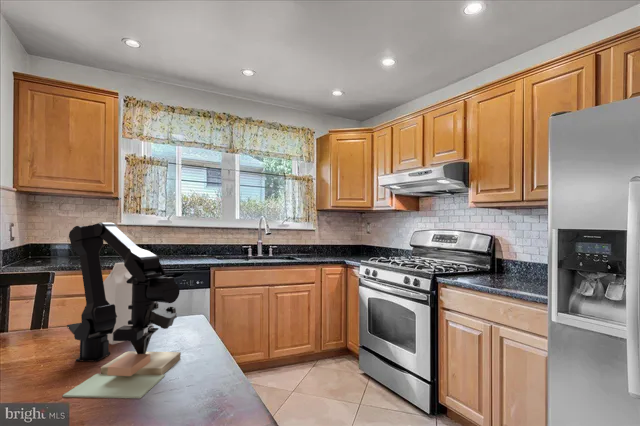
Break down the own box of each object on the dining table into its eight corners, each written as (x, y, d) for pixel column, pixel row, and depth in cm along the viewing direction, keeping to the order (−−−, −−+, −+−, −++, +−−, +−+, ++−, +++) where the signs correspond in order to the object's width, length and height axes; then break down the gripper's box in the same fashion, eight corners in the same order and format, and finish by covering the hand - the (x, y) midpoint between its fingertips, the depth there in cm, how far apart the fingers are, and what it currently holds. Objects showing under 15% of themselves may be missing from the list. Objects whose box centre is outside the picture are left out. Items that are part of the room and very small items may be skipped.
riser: (100, 375, 93) (100, 367, 93) (126, 358, 105) (126, 351, 105) (161, 376, 93) (161, 368, 93) (180, 359, 105) (180, 352, 105)
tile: (107, 375, 88) (107, 367, 88) (129, 360, 97) (129, 353, 97) (130, 376, 88) (130, 367, 88) (150, 361, 97) (150, 354, 97)
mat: (62, 396, 81) (62, 395, 81) (96, 375, 93) (96, 373, 93) (140, 398, 81) (140, 396, 81) (164, 376, 92) (164, 375, 92)
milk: (131, 329, 134) (133, 260, 135) (147, 335, 127) (149, 262, 128) (96, 338, 124) (99, 262, 125) (112, 344, 117) (114, 265, 118)
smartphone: (65, 326, 139) (73, 335, 128) (65, 324, 139) (74, 332, 128) (87, 323, 144) (97, 331, 133) (87, 321, 144) (97, 328, 133)
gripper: (156, 308, 89) (154, 371, 89) (185, 293, 108) (184, 346, 107) (112, 307, 89) (110, 370, 89) (149, 293, 108) (147, 345, 108)
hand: (142, 357), depth 98 cm, fingers closed
